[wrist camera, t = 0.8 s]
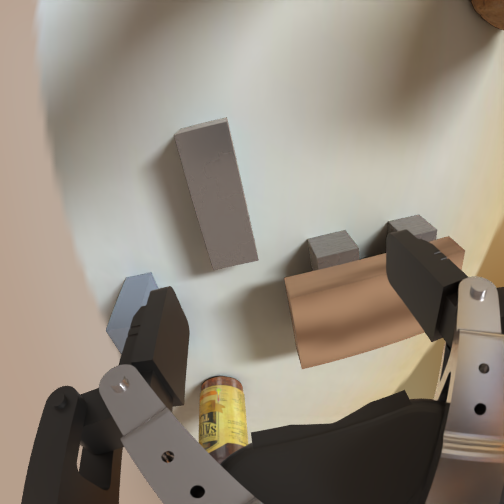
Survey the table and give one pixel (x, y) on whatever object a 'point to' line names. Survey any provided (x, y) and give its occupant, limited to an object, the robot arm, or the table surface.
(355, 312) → the slab
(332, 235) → the bar middle
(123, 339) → the stop block
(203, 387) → the sauce bottle
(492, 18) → the block
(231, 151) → the bar loose
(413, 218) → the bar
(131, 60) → the table surface
